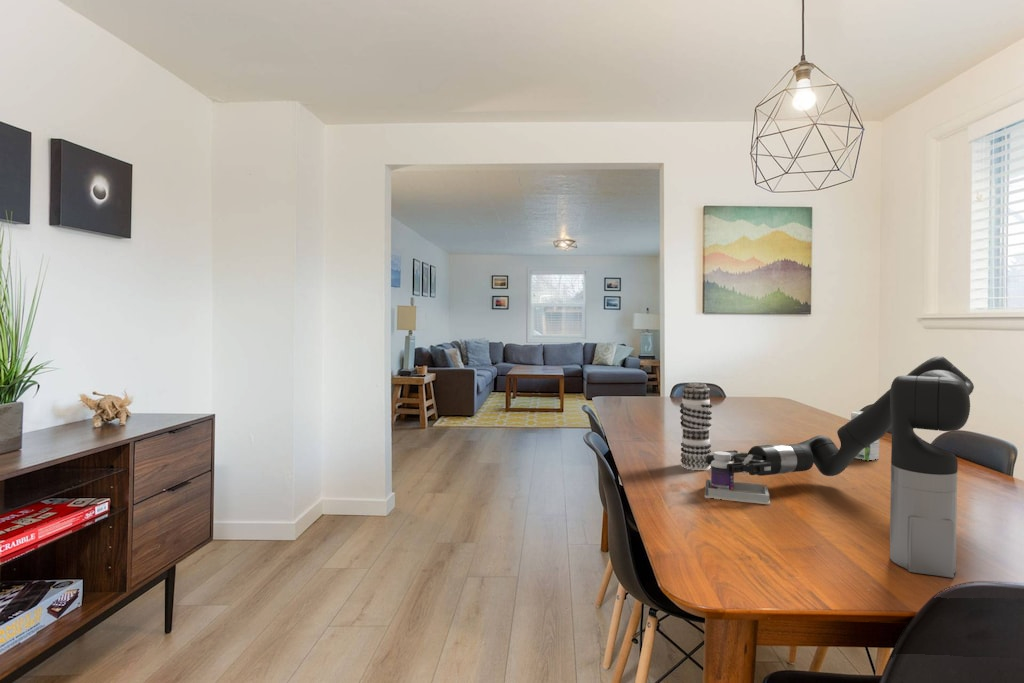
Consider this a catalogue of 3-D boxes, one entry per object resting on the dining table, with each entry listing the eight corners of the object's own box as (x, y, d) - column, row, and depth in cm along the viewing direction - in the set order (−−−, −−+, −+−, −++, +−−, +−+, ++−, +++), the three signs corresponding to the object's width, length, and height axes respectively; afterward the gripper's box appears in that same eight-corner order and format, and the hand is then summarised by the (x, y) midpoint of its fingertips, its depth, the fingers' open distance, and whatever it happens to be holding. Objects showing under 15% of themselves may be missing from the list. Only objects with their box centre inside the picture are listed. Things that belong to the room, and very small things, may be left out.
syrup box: (849, 457, 168) (850, 411, 167) (861, 455, 170) (861, 410, 170) (868, 461, 163) (868, 414, 162) (879, 459, 165) (880, 413, 165)
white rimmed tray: (766, 492, 134) (766, 484, 134) (770, 504, 125) (770, 496, 125) (705, 486, 140) (705, 478, 139) (704, 497, 130) (704, 489, 130)
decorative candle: (707, 463, 163) (707, 381, 162) (716, 471, 153) (716, 385, 153) (676, 462, 163) (676, 381, 163) (683, 470, 154) (683, 385, 153)
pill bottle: (735, 495, 130) (735, 456, 130) (712, 494, 131) (712, 455, 131) (731, 488, 136) (731, 450, 135) (709, 487, 137) (709, 450, 136)
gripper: (753, 439, 143) (700, 443, 140) (793, 451, 130) (735, 455, 126) (753, 466, 144) (700, 471, 140) (792, 481, 130) (735, 487, 126)
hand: (716, 464), depth 133 cm, fingers open, 8 cm apart
